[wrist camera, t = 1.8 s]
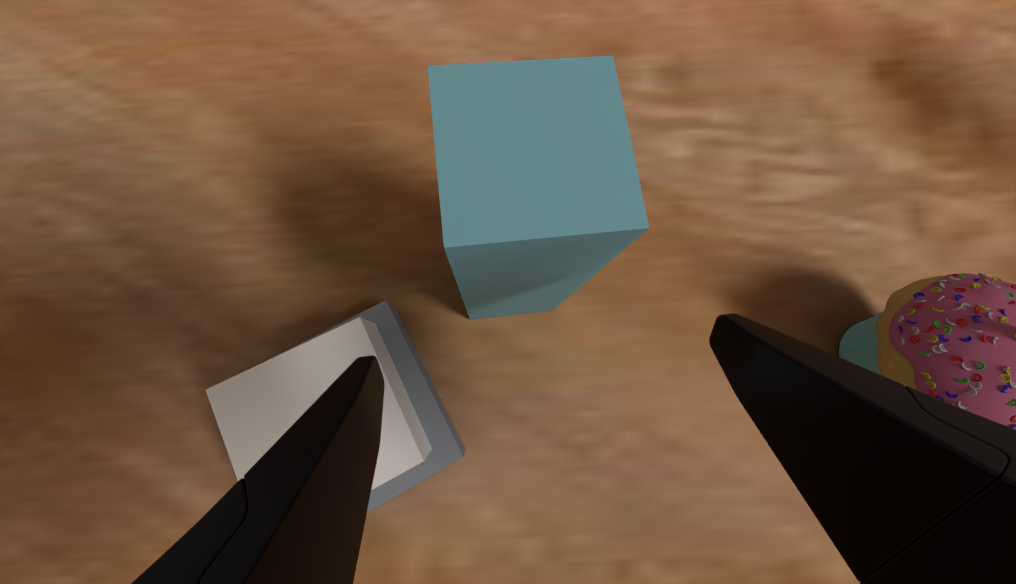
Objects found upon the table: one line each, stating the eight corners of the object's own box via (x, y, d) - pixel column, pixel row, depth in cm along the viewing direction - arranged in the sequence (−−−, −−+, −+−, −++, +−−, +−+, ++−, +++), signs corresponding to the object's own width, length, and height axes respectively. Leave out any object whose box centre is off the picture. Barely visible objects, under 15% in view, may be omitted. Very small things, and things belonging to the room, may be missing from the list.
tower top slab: (432, 448, 18) (424, 461, 15) (294, 523, 17) (262, 550, 14) (375, 323, 19) (359, 316, 17) (243, 386, 18) (205, 389, 15)
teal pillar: (553, 310, 21) (649, 227, 9) (469, 319, 21) (443, 247, 8) (541, 231, 22) (613, 55, 10) (461, 239, 22) (427, 65, 9)
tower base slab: (466, 446, 20) (463, 456, 18) (314, 535, 19) (288, 560, 17) (397, 307, 22) (385, 300, 19) (251, 381, 20) (219, 383, 18)
